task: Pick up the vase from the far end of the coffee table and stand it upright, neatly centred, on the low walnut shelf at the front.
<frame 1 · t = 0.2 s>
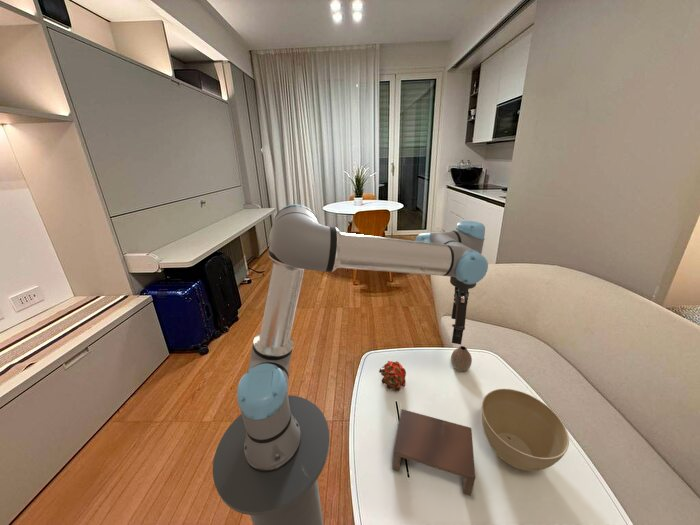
hand: (455, 330, 89), 18 cm above the table, tool pointing down, fingers open, 13 cm apart
vase: (459, 367, 97), on the table
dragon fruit: (392, 382, 91), on the table
shelf: (431, 457, 69), on the table
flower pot: (512, 451, 70), on the table
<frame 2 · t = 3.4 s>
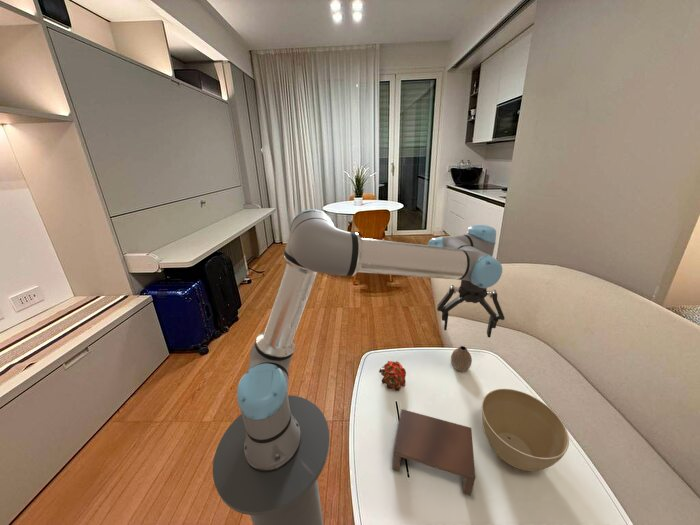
hand: (466, 331, 91), 16 cm above the table, tool pointing down, fingers open, 13 cm apart
nothing on the table moved.
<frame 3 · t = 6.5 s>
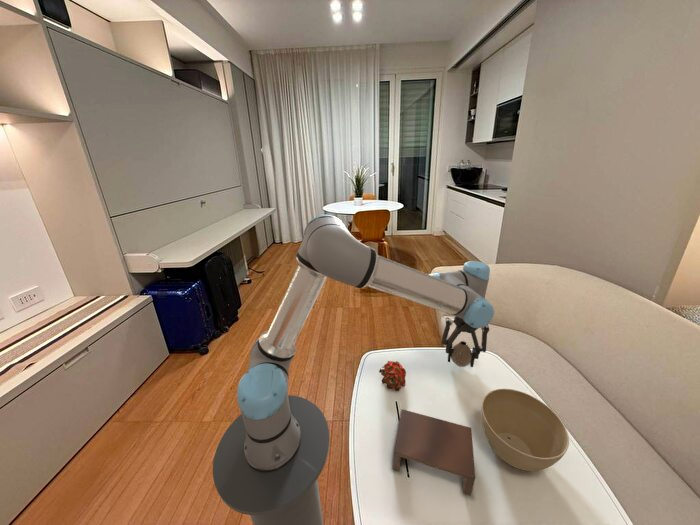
hand: (460, 361, 96), 3 cm above the table, tool pointing down, fingers closed on vase, 7 cm apart
vase: (459, 363, 96), point 2 cm above the table, touching gripper
everything else where it was.
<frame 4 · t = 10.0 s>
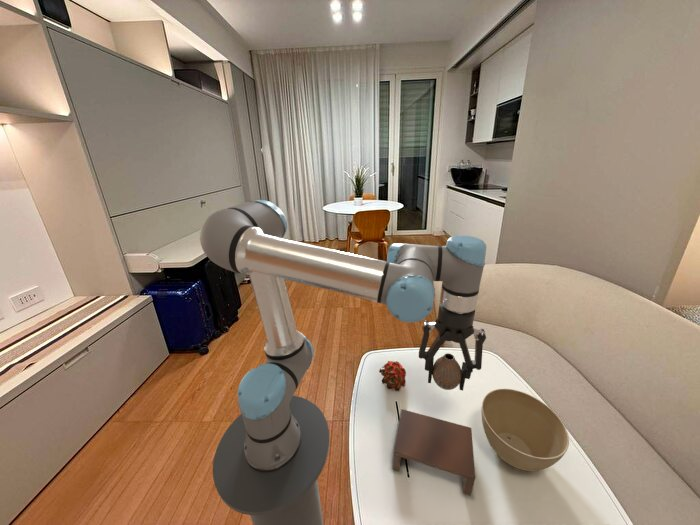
hand: (445, 382, 68), 19 cm above the table, tool pointing down, fingers closed on vase, 7 cm apart
vase: (444, 384, 68), point 18 cm above the table, touching gripper
everything else where it was.
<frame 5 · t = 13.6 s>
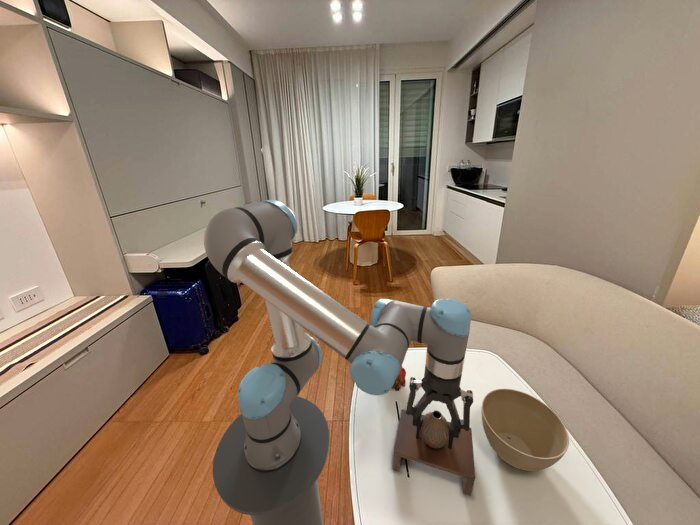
hand: (433, 438, 66), 7 cm above the table, tool pointing down, fingers closed on vase, 7 cm apart
vase: (433, 439, 66), point 7 cm above the table, touching gripper
everything else where it was.
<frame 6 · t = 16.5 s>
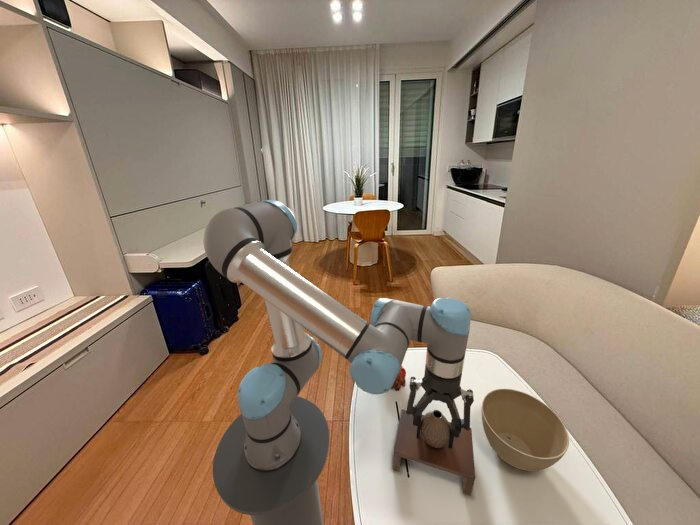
hand: (434, 437, 66), 8 cm above the table, tool pointing down, fingers closed on vase, 7 cm apart
vase: (433, 439, 66), point 7 cm above the table, touching gripper
everything else where it was.
when the fingers open (8 cm above the table, at t = 19.2 s): vase stays where it is, resting on shelf.
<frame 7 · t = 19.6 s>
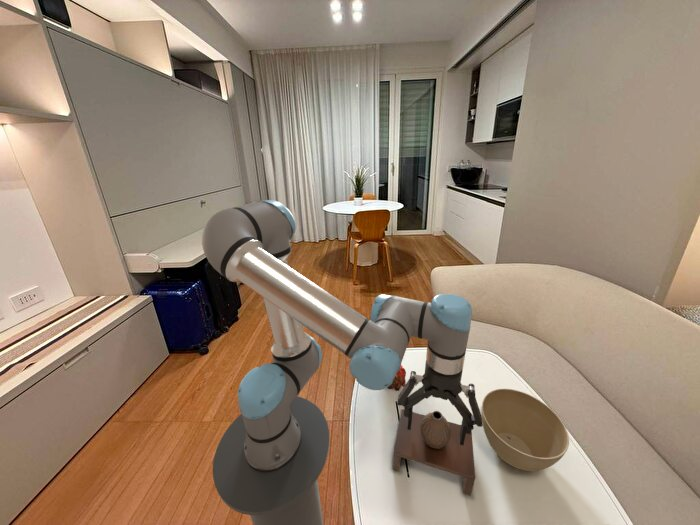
hand: (434, 432, 65), 10 cm above the table, tool pointing down, fingers open, 11 cm apart
vase: (433, 440, 66), point 7 cm above the table, touching shelf
everything else where it was.
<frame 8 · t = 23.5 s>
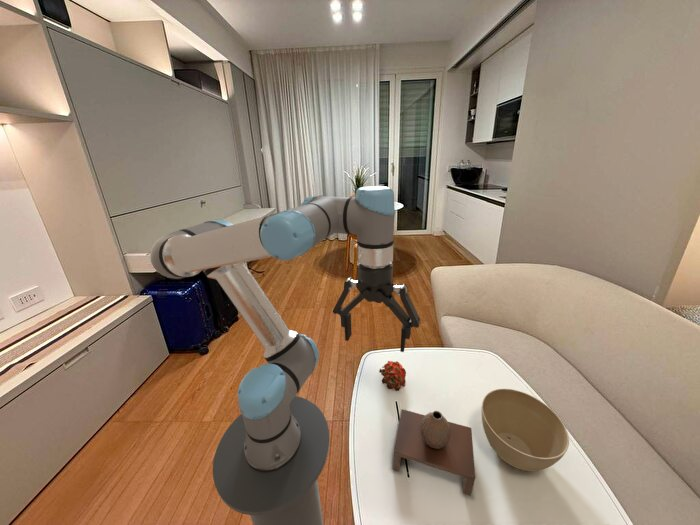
hand: (374, 342, 65), 31 cm above the table, tool pointing down, fingers open, 13 cm apart
nothing on the table moved.
at the end: vase 0.2 cm off-centre on the shelf, point 6.8 cm above the shelf's base; vase tilted 0° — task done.
